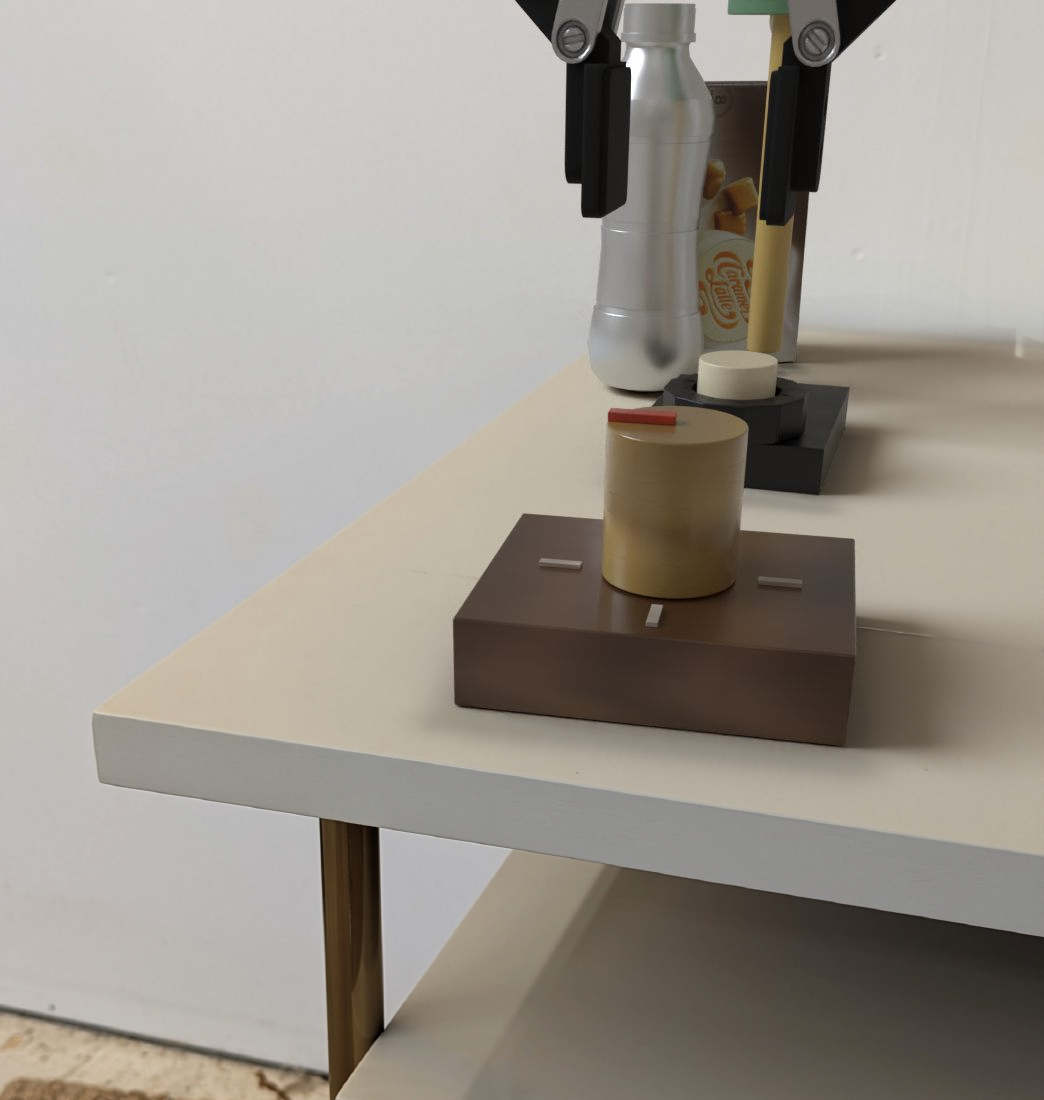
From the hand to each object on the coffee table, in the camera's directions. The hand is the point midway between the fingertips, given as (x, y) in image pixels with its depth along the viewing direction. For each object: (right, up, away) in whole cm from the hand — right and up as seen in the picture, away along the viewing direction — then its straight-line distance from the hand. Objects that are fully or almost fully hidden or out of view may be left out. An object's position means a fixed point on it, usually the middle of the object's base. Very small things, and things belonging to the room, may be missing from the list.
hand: (689, 208), depth 39 cm
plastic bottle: (+2, +4, +39) cm, 40 cm away
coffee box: (+7, +8, +47) cm, 49 cm away
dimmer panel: (0, -13, +7) cm, 14 cm away
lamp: (+8, +4, +31) cm, 33 cm away
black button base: (+6, -2, +28) cm, 29 cm away
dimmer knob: (0, -10, +5) cm, 11 cm away
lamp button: (+5, 0, +24) cm, 24 cm away
